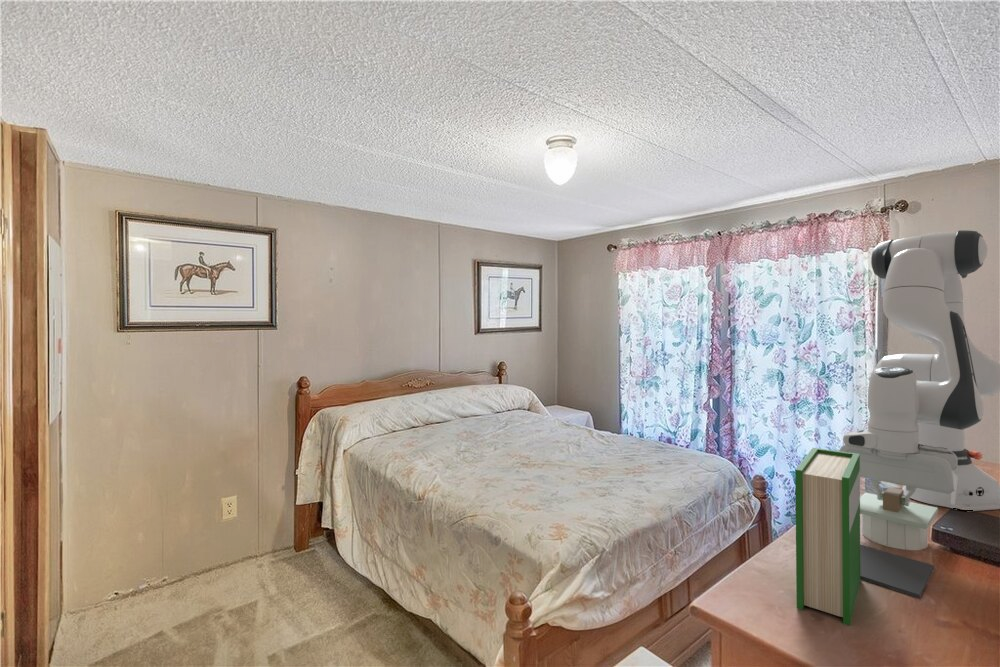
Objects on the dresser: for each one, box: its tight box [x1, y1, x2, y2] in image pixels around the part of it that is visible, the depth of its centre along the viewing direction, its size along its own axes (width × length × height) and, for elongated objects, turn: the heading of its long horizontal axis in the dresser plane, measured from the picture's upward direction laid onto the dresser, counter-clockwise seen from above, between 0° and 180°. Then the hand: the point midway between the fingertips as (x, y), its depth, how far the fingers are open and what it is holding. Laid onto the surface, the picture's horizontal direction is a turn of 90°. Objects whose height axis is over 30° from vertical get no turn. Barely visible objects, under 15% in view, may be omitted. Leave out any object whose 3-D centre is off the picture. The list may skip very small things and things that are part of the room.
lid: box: [860, 487, 939, 531], centre depth 106 cm, size 13×13×4 cm
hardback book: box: [794, 447, 862, 627], centre depth 85 cm, size 18×7×24 cm, turn 138°
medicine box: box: [864, 478, 903, 495], centre depth 117 cm, size 8×4×9 cm, turn 168°
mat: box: [860, 543, 936, 599], centre depth 94 cm, size 15×15×1 cm
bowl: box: [861, 514, 928, 551], centre depth 106 cm, size 11×11×6 cm
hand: (893, 502), depth 106 cm, fingers closed on lid, 2 cm apart
